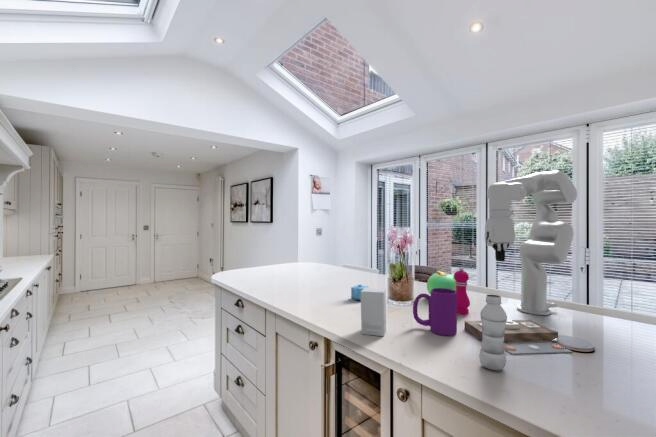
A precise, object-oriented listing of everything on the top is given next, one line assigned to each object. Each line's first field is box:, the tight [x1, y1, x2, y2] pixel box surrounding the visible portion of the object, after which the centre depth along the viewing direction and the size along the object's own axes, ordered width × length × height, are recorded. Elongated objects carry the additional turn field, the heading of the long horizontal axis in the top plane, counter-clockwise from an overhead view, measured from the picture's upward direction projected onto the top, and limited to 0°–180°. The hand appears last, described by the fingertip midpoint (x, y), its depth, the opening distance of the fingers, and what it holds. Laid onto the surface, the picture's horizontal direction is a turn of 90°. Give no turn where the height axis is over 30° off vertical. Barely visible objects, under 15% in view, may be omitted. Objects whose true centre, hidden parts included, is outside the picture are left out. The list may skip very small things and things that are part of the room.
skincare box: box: [360, 287, 387, 337], centre depth 112 cm, size 8×7×16 cm
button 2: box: [520, 322, 540, 329], centre depth 112 cm, size 4×4×3 cm
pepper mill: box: [453, 266, 471, 316], centre depth 136 cm, size 7×7×20 cm
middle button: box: [505, 319, 519, 329], centre depth 111 cm, size 4×4×3 cm
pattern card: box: [504, 342, 574, 356], centre depth 99 cm, size 20×7×1 cm, turn 95°
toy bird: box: [426, 270, 456, 296], centre depth 157 cm, size 18×17×15 cm
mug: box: [412, 288, 458, 337], centre depth 115 cm, size 9×16×15 cm, turn 63°
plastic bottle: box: [479, 294, 508, 371], centre depth 86 cm, size 6×7×20 cm
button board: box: [464, 319, 559, 344], centre depth 111 cm, size 26×13×3 cm, turn 95°
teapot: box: [350, 284, 370, 302], centre depth 156 cm, size 12×6×8 cm, turn 147°
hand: (500, 260), depth 124 cm, fingers closed
